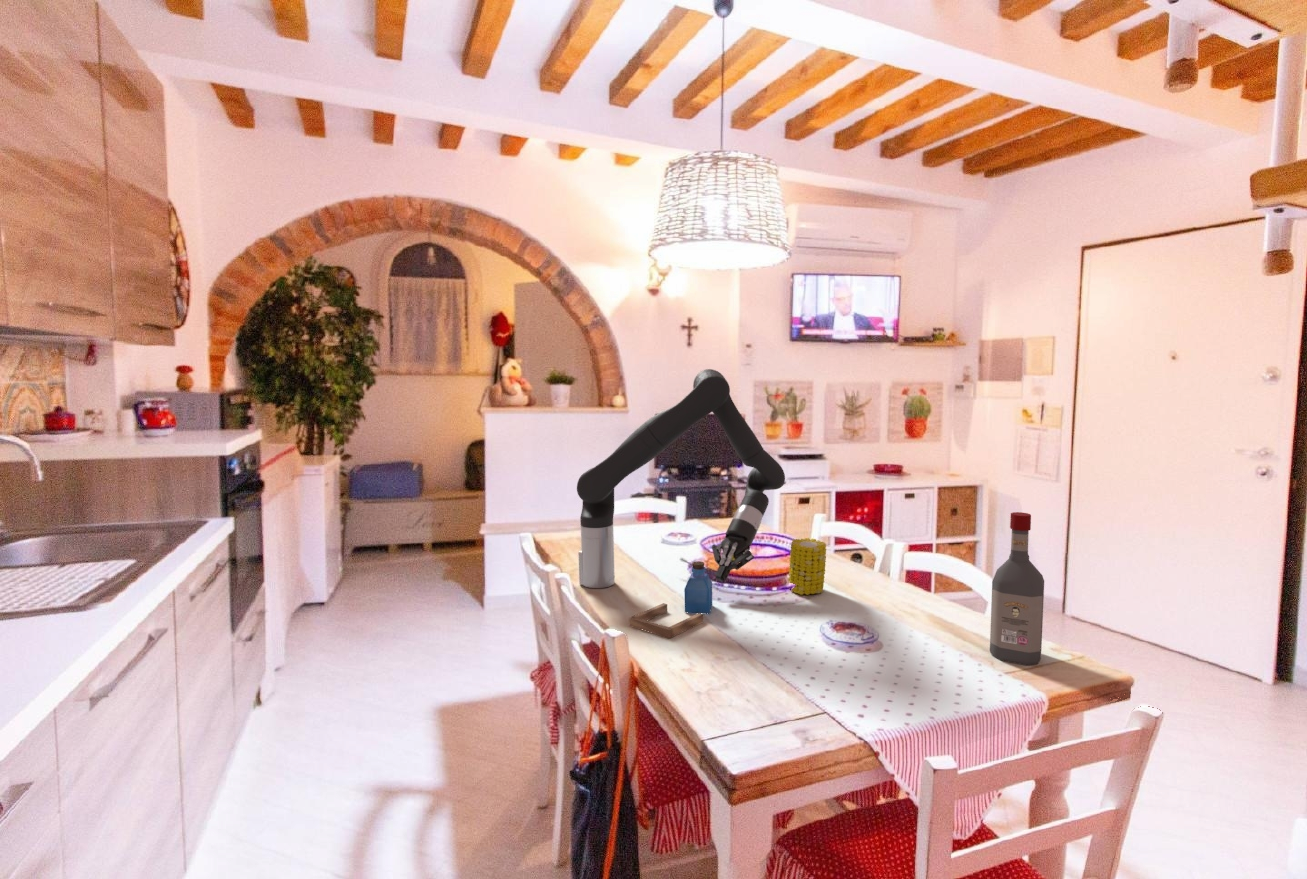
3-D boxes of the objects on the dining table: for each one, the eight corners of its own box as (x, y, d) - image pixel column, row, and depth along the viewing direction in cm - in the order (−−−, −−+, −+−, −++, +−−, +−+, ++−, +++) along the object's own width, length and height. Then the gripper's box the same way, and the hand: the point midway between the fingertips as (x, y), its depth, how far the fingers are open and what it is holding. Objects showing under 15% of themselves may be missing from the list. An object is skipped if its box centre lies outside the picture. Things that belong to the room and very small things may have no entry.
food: (811, 589, 191) (828, 602, 181) (773, 584, 188) (789, 597, 178) (824, 537, 189) (842, 548, 180) (786, 531, 186) (802, 541, 177)
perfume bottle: (709, 614, 169) (708, 567, 168) (684, 612, 170) (684, 566, 169) (712, 605, 175) (711, 560, 174) (688, 604, 176) (687, 559, 175)
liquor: (1039, 668, 136) (1045, 520, 132) (988, 659, 140) (993, 516, 137) (1041, 652, 143) (1047, 512, 140) (993, 643, 148) (998, 507, 145)
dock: (663, 610, 172) (663, 603, 171) (703, 622, 164) (703, 614, 163) (629, 626, 162) (629, 617, 162) (669, 638, 154) (669, 630, 154)
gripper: (719, 514, 189) (693, 568, 181) (760, 520, 180) (734, 577, 172) (730, 529, 193) (705, 582, 185) (770, 536, 184) (746, 592, 177)
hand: (719, 580), depth 179 cm, fingers closed
